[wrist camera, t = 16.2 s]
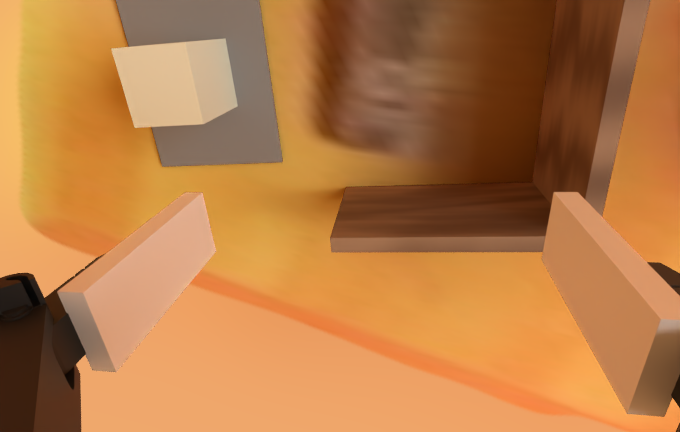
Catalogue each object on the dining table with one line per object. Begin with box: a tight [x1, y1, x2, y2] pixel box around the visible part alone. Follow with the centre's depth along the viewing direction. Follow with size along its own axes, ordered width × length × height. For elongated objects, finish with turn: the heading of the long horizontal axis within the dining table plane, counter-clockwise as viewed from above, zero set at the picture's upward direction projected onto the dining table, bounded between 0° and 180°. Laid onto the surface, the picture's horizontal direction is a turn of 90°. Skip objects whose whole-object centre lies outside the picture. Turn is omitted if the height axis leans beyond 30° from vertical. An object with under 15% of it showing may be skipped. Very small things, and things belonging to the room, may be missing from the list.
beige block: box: [111, 39, 238, 128], centre depth 31 cm, size 6×6×7 cm
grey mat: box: [116, 0, 283, 167], centre depth 35 cm, size 16×12×1 cm
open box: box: [330, 0, 650, 252], centre depth 27 cm, size 24×18×10 cm
